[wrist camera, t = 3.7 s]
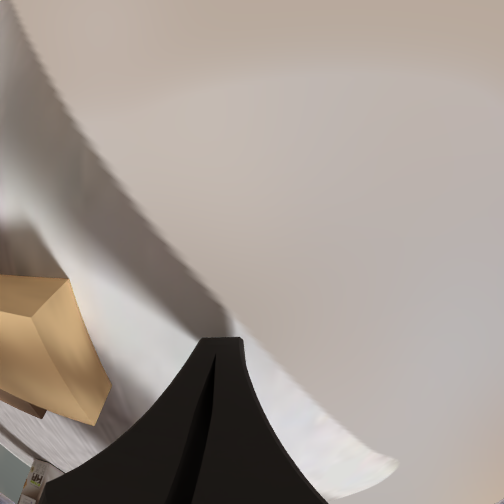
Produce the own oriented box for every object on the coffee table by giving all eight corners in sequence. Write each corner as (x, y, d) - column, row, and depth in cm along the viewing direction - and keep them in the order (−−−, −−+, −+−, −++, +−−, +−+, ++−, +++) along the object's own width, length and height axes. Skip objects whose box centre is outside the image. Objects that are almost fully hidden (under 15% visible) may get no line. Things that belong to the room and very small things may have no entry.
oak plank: (114, 380, 12) (94, 426, 9) (0, 348, 12) (-22, 376, 9) (73, 274, 9) (31, 317, 6) (-36, 268, 9) (-66, 292, 7)
